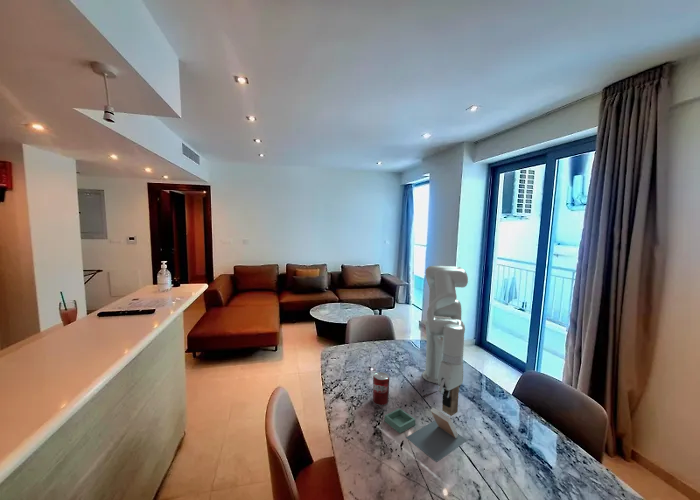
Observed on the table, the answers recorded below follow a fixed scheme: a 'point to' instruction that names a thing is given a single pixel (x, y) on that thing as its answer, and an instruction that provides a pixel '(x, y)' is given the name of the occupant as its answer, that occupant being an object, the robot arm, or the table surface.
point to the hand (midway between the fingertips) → (450, 403)
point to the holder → (400, 420)
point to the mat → (435, 441)
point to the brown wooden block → (452, 402)
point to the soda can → (380, 388)
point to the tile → (444, 422)
